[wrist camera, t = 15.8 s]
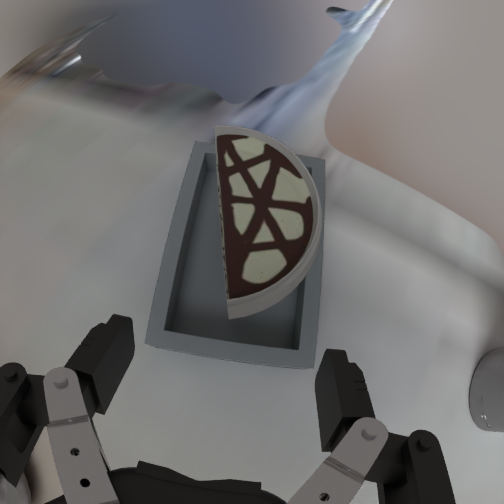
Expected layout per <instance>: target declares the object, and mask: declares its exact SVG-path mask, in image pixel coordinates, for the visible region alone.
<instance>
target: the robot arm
mask: <svg viewBox="0 0 504 504" xmlns="http://www.w3.org/2000/svg"><path fill="white" fill-rule="evenodd" d="M134 351H135V343H134V333H133V323H132V319H131V318H130V317H126V316H122V315H117V314H113V315H112V316H111V318H110V319H109V321H108V322H107V323H106V324H104V323H100V324H98V325H97V326H95V327H94V328H92V329H91V330H90V332H89V333H88V334H87V336H86V338H84V340H83V341H82V342H81V345H79V347H78V348H77V349H76V351H75V352H74V353H73V355H72V356H71V358H70V359H69V360H68V362H67V363H66V365H65V366H64V367H59V368H55V369H52V370H50V371H49V372H48V373H47V374H46V375H45V376H42V375H31V374H27V372H26V370H25V368H24V367H23V366H22V365H21V364H19V363H7V364H5V365H3V366H2V367H0V504H20V495H19V493H18V491H17V489H16V487H17V485H18V482H19V480H20V478H21V475H22V473H23V471H24V468H25V466H26V464H27V462H28V460H29V457H30V455H31V453H32V451H33V449H34V447H35V445H36V443H37V440H38V438H39V436H40V434H41V432H42V430H43V428H44V426H47V430H48V435H49V440H50V444H51V449H52V453H53V457H54V461H55V465H56V469H57V472H58V476H59V479H60V483H61V486H62V489H63V492H64V495H62V496H60V497H58V498H56V499H53V500H51V501H49V502H47V503H45V504H349V503H350V502H351V500H352V499H353V497H354V496H355V495H356V493H357V492H358V490H359V489H360V487H361V486H362V484H363V482H364V480H367V481H371V482H376V483H377V489H378V497H379V504H456V503H455V498H454V494H453V490H452V486H451V482H450V478H449V475H448V471H447V467H446V464H445V460H444V457H443V453H442V450H441V447H440V444H439V441H438V439H437V437H436V436H435V435H434V434H432V433H431V432H429V431H426V430H417V431H414V432H413V433H411V435H410V436H409V437H406V436H402V435H397V434H393V433H390V432H388V430H387V428H386V427H385V425H384V424H383V423H382V422H381V421H379V420H377V419H376V418H375V414H374V411H373V407H372V403H371V400H370V396H369V393H368V391H367V386H366V383H365V379H364V376H363V372H362V371H361V369H360V368H359V367H358V366H357V365H356V363H349V362H348V358H347V354H346V351H345V350H337V349H326V351H325V353H324V356H323V359H322V361H321V364H320V367H319V370H318V372H317V375H316V379H315V394H316V402H317V411H318V419H319V429H320V438H321V448H322V452H331V455H330V456H329V457H328V458H326V459H325V461H324V462H323V463H322V464H321V465H320V467H319V468H318V469H317V470H316V471H315V472H314V474H313V475H312V476H311V477H310V478H309V479H308V480H307V482H306V483H305V484H304V485H303V486H302V487H301V488H300V489H299V490H298V492H297V493H296V494H295V495H294V496H293V497H292V498H291V499H290V500H289V501H288V502H287V503H286V502H285V501H284V500H282V499H281V498H279V497H278V496H276V495H274V494H272V493H269V492H267V491H264V490H261V482H251V481H242V480H233V479H226V480H210V481H197V480H194V479H192V478H189V477H187V476H185V475H182V474H180V473H178V472H176V471H173V470H171V469H169V468H166V467H162V466H158V465H154V464H150V463H146V462H143V461H139V462H138V465H137V467H127V468H119V469H116V470H112V471H111V468H110V466H109V464H108V461H107V459H106V457H105V454H104V451H103V449H102V446H101V443H100V440H99V438H98V435H97V432H96V429H95V426H94V423H93V420H92V418H93V416H94V414H95V412H97V413H100V414H103V415H105V413H106V410H107V408H108V406H109V404H110V402H111V400H112V398H113V396H114V394H115V392H116V390H117V388H118V386H119V384H120V382H121V380H122V378H123V376H124V374H125V373H126V371H127V369H128V367H129V365H130V363H131V361H132V359H133V356H134ZM469 401H470V411H471V415H472V418H473V420H474V422H475V424H476V425H477V426H478V427H479V428H481V429H482V430H485V431H493V432H504V347H503V348H499V349H494V350H492V351H490V352H489V353H488V354H486V355H485V356H484V357H483V359H482V360H481V361H480V363H479V365H478V367H477V368H476V370H475V373H474V376H473V379H472V383H471V388H470V397H469Z"/></svg>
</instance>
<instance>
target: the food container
mask: <svg viewBox="0 0 504 504" xmlns="http://www.w3.org/2000/svg"><path fill="white" fill-rule="evenodd" d="M214 132H215V151H216V170H217V187H218V203H219V217H220V231H221V243H222V256H223V268H224V279H225V291H226V302H227V312H228V317H229V319H234V318H240V317H246V316H249V315H252V314H254V313H257V312H260V311H263V310H265V309H267V308H269V307H270V306H272V305H274V304H276V303H278V302H279V301H281V300H282V299H283V298H284V297H286V296H287V295H288V294H290V293H291V292H292V291H293V290H294V289H295V288H296V287H297V286H298V285H299V283H300V282H301V281H302V280H303V279H304V277H305V276H306V274H307V273H308V271H309V269H310V268H311V266H312V264H313V261H314V259H315V257H316V254H317V251H318V246H319V242H320V236H321V226H322V210H321V203H320V198H319V195H318V192H317V189H316V186H315V184H314V181H313V179H312V177H311V175H310V173H309V171H308V170H307V168H306V167H305V165H304V164H303V163H302V161H301V160H300V159H299V158H298V157H297V156H296V155H295V154H294V153H293V152H292V151H291V150H290V149H289V148H287V147H286V146H285V145H283V144H282V143H280V142H279V141H277V140H275V139H274V138H272V137H270V136H268V135H266V134H263V133H260V132H258V131H255V130H252V129H247V128H243V127H237V126H227V125H216V126H214Z"/></svg>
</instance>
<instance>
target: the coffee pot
mask: <svg viewBox="0 0 504 504" xmlns="http://www.w3.org/2000/svg"><path fill="white" fill-rule="evenodd" d="M16 489H17V491H18V493H19V495H20V504H32V503H31V493H30V490H29V486H28V483H27V479H26V476H25V474H24V472H23V473H22V475H21V478H20V480H19V482H18V485H17V487H16Z"/></svg>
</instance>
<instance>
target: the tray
mask: <svg viewBox="0 0 504 504" xmlns="http://www.w3.org/2000/svg"><path fill="white" fill-rule="evenodd" d="M295 155H296V154H295ZM296 156H297V157H298V158H299V159H300V160H301V161H302V163H303V164H304V165H305V167H306V168H307V170H308V171H309V173H310V175H311V177H312V179H313V181H314V184H315V186H316V189H317V192H318V195H319V198H320V203H321V210H322V226H321V236H320V242H319V246H318V251H317V254H316V257H315V259H314V261H313V264H312V266H311V268H310V269H309V271H308V273H307V274H306V276H305V277H304V279H303V280H302V281H301V282H300V283H299V285H298V286H297V287H296V288H295V289H294V290H293V291H292V292H291V293H290V294H288V295H287V296H286V297H284V298H283V299H282V300H281V301H279V302H278V303H276V304H274V305H272V306H270V307H269V308H267V309H265V310H263V311H260V312H257V313H254V314H252V315H249V316H246V317H240V318H234V319H229V317H228V312H227V302H226V291H225V279H224V268H223V256H222V243H221V231H220V217H219V203H218V187H217V170H216V151H215V143H207V142H196V141H195V144H194V147H193V150H192V153H191V156H190V159H189V163H188V166H187V169H186V173H185V176H184V179H183V183H182V186H181V190H180V193H179V197H178V200H177V204H176V208H175V211H174V215H173V219H172V223H171V226H170V230H169V234H168V238H167V242H166V246H165V250H164V254H163V258H162V263H161V267H160V271H159V276H158V280H157V285H156V289H155V294H154V298H153V303H152V308H151V313H150V318H149V323H148V328H147V334H146V339H145V344H148V345H151V346H153V347H156V348H161V349H166V350H171V351H176V352H181V353H187V354H192V355H198V356H204V357H210V358H216V359H222V360H229V361H236V362H243V363H250V364H258V365H267V366H275V367H285V368H295V369H313V368H314V361H315V351H316V341H317V330H318V318H319V306H320V292H321V276H322V258H323V236H324V203H325V160H323V159H318V158H313V157H307V156H301V155H296Z"/></svg>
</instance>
